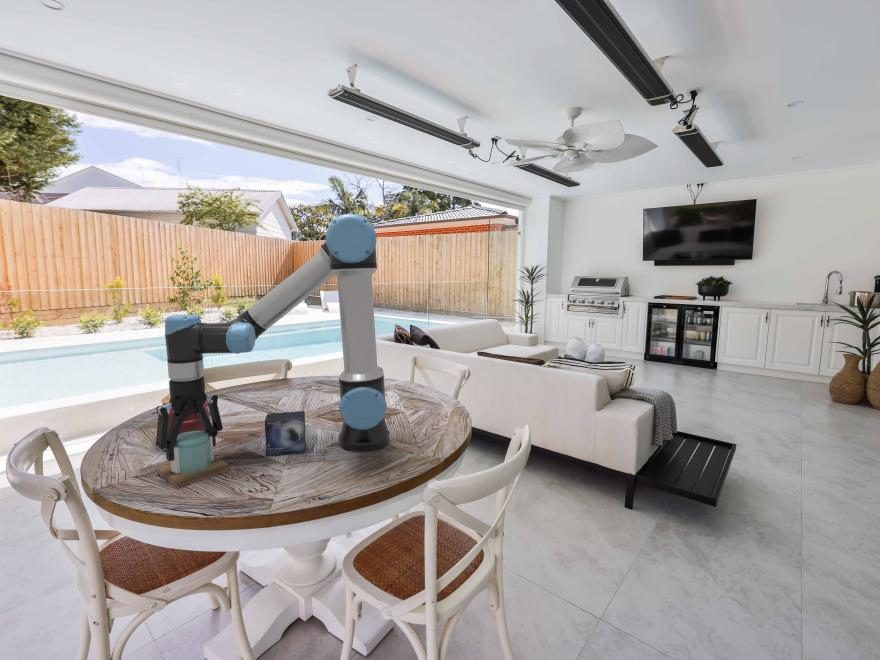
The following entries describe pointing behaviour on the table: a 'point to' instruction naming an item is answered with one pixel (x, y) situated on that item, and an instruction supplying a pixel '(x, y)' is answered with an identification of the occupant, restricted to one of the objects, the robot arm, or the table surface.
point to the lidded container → (193, 451)
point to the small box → (285, 433)
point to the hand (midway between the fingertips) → (193, 465)
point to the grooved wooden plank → (188, 478)
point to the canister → (187, 418)
